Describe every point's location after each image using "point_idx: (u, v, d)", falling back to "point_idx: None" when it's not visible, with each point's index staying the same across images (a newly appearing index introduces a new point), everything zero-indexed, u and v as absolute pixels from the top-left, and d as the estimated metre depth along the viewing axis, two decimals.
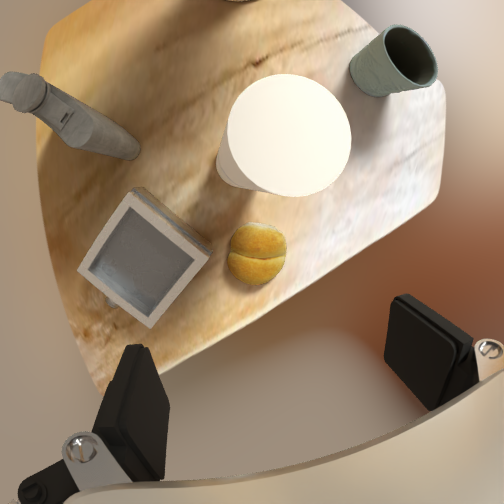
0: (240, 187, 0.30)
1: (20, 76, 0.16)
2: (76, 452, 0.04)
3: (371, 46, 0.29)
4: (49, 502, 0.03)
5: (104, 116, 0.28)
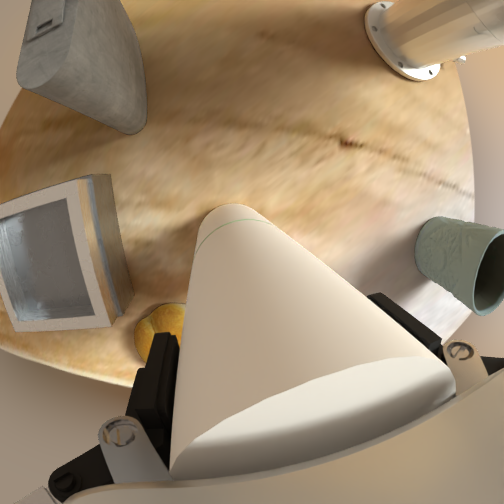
0: None
1: None
2: (113, 437, 0.05)
3: (469, 231, 0.24)
4: None
5: (129, 59, 0.17)
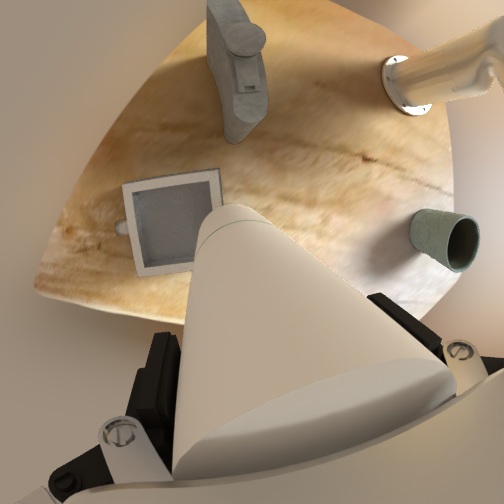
0: None
1: (241, 12, 0.20)
2: (113, 437, 0.05)
3: (444, 216, 0.40)
4: None
5: None
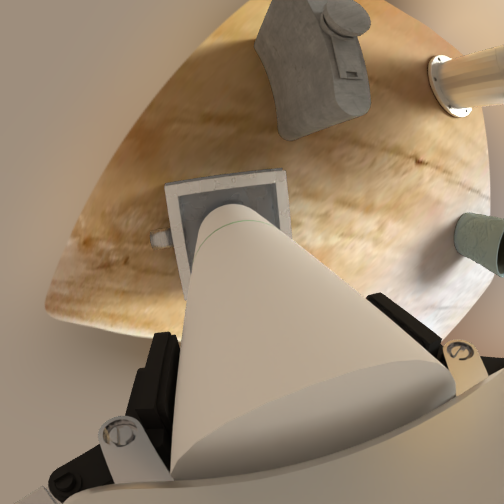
0: None
1: None
2: (113, 437, 0.05)
3: (491, 221, 0.34)
4: None
5: None
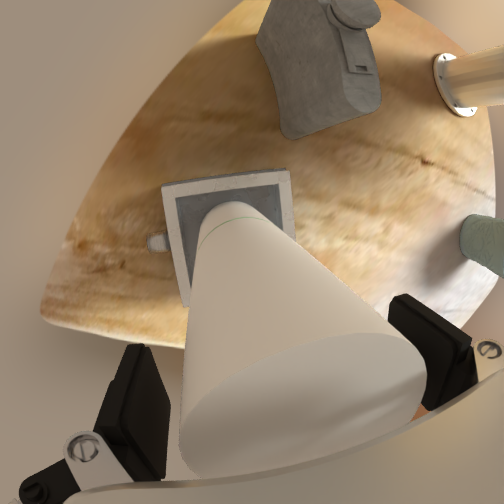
0: None
1: None
2: (78, 451, 0.04)
3: (497, 223, 0.33)
4: (51, 501, 0.03)
5: None
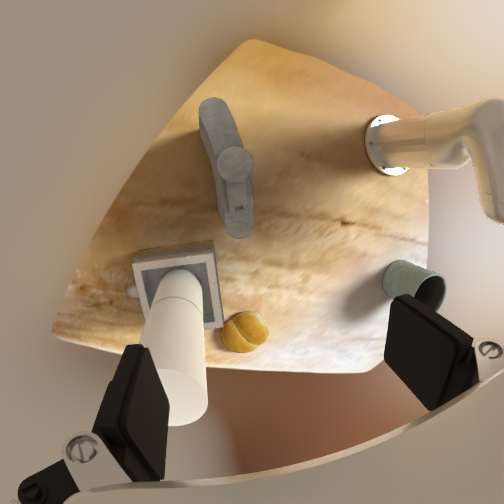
0: None
1: (231, 123, 0.28)
2: (76, 452, 0.04)
3: (413, 273, 0.48)
4: (49, 502, 0.03)
5: None
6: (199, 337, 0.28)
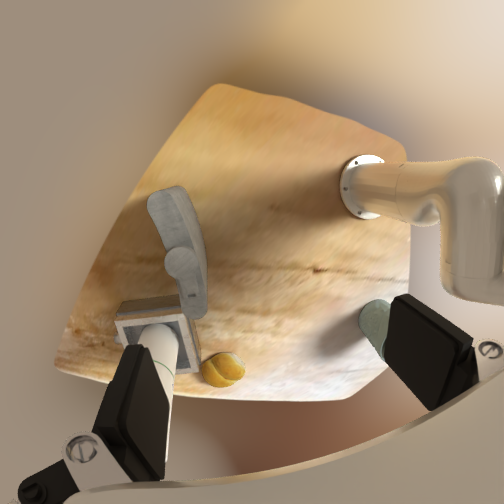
0: None
1: (178, 217, 0.30)
2: (76, 452, 0.04)
3: (386, 318, 0.50)
4: (49, 502, 0.03)
5: (203, 253, 0.43)
6: None
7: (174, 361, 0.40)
